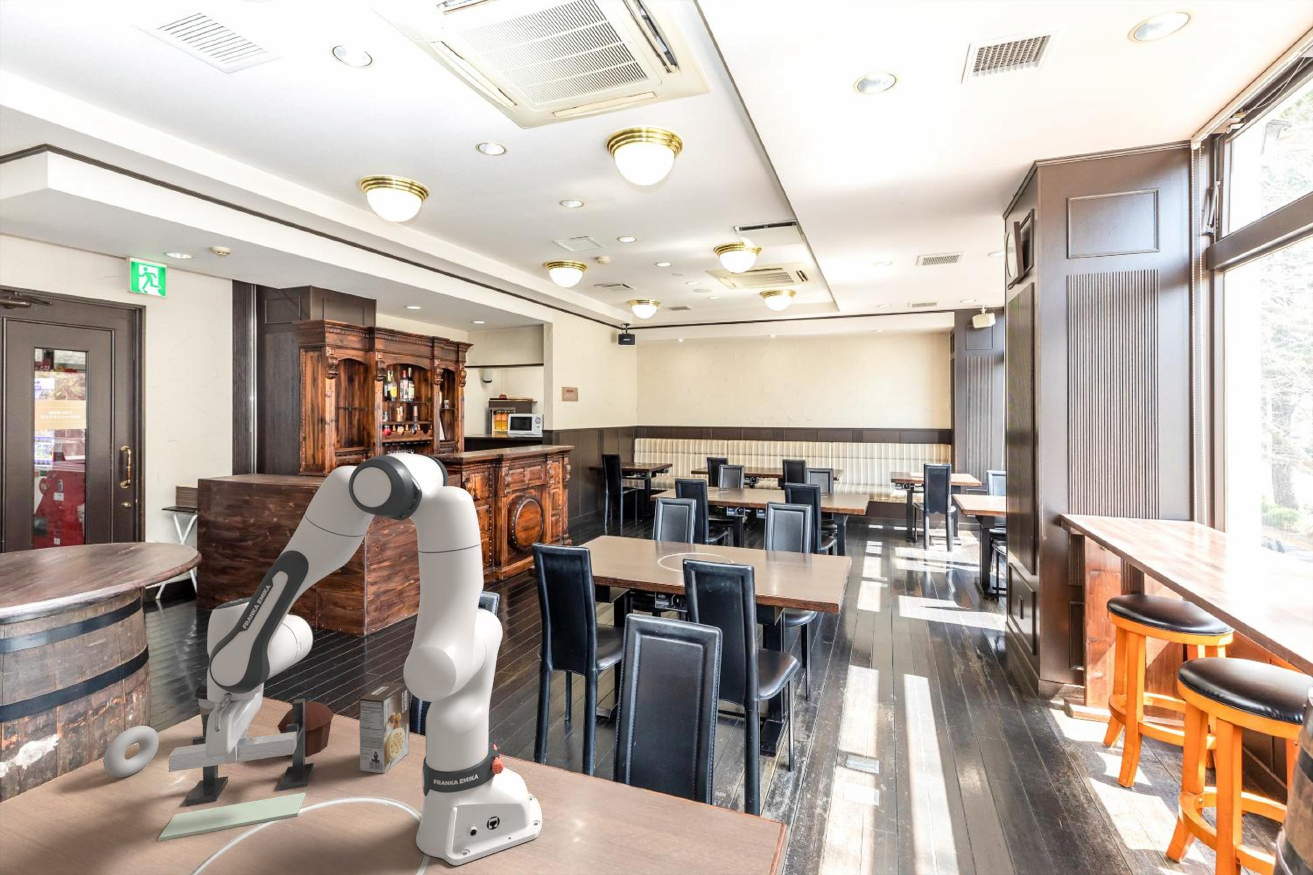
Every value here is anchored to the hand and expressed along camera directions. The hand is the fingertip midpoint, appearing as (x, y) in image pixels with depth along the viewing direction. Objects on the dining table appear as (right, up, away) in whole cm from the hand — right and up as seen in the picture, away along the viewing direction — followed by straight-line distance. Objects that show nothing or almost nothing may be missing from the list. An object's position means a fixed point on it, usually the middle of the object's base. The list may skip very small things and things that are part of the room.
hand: (235, 755), depth 115 cm
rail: (0, -1, 0) cm, 1 cm away
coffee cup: (-22, -12, +28) cm, 38 cm away
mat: (0, -12, 0) cm, 12 cm away
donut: (-32, -12, +14) cm, 37 cm away
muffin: (-1, -12, +25) cm, 28 cm away
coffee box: (+20, -12, +20) cm, 30 cm away
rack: (-3, -12, +9) cm, 15 cm away
